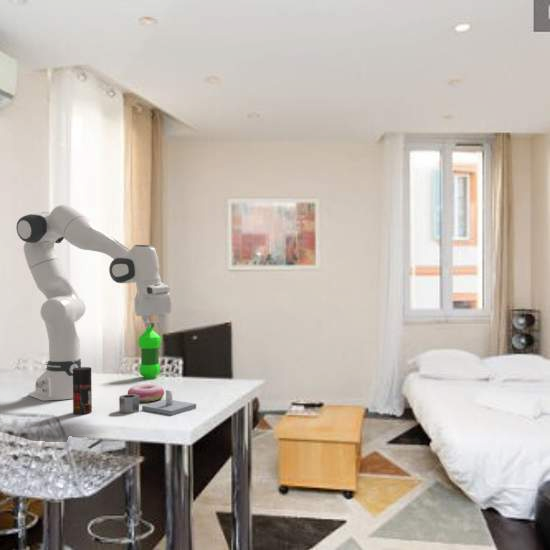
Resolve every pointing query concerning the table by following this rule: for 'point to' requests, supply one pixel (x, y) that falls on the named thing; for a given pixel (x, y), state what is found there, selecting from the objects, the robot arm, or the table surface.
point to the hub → (129, 403)
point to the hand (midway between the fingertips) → (154, 327)
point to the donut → (147, 392)
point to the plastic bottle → (149, 353)
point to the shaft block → (169, 405)
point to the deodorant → (82, 391)
